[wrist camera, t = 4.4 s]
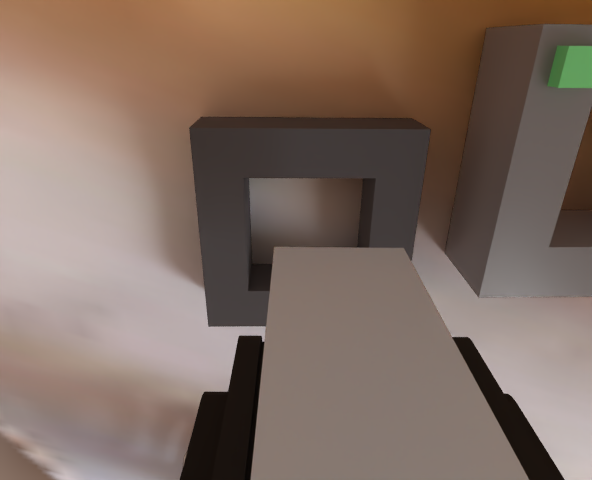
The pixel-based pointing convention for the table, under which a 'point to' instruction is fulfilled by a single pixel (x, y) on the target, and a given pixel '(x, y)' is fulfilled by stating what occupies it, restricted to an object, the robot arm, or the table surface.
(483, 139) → the port panel
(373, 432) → the plug
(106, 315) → the table surface
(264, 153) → the dark grey square frame
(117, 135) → the table surface
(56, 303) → the table surface
